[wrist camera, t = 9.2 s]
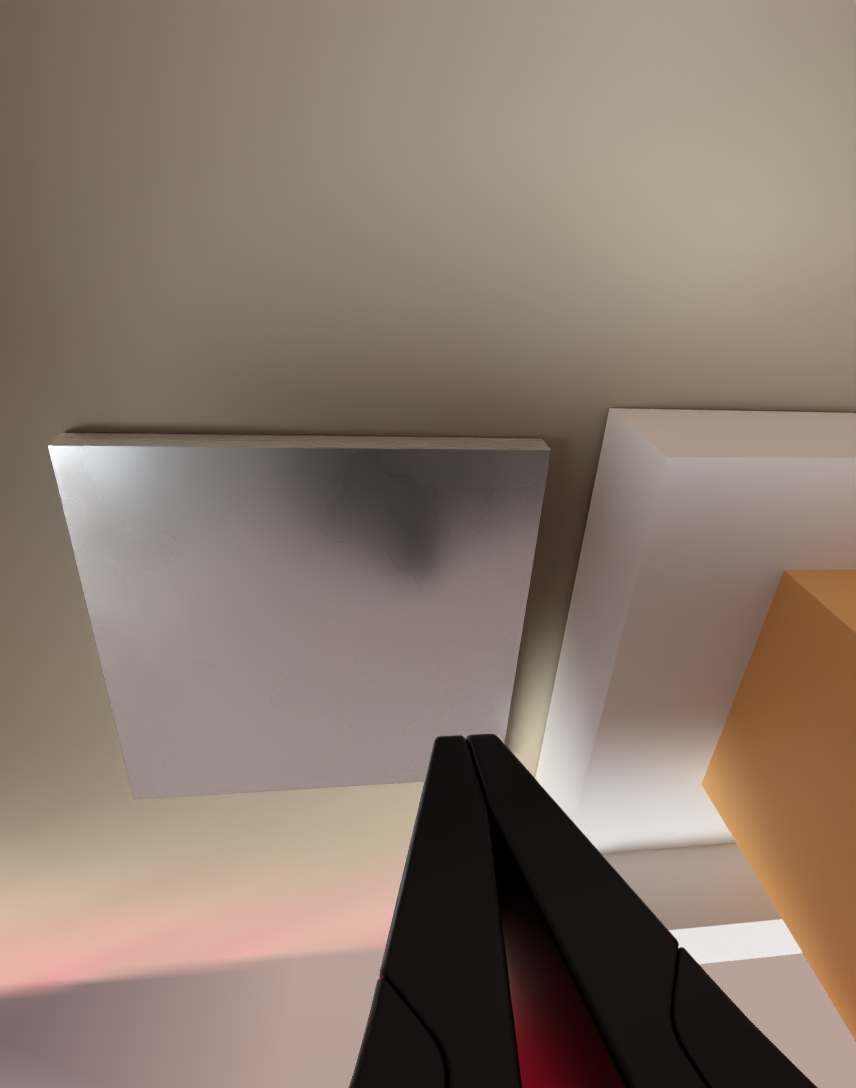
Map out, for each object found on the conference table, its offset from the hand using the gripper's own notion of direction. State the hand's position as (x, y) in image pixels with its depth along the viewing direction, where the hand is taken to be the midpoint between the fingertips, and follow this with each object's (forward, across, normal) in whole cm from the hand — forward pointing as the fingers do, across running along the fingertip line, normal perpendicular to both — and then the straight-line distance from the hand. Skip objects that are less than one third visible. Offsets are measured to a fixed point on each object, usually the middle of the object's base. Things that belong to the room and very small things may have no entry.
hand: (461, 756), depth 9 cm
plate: (+3, +2, 0) cm, 4 cm away
